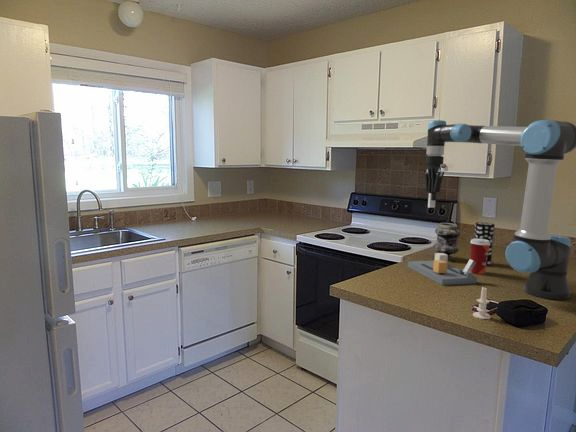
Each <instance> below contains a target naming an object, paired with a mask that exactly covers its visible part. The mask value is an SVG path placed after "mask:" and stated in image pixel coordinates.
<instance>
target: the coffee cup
mask: <svg viewBox="0 0 576 432" xmlns="http://www.w3.org/2000/svg"><path fill="white" fill-rule="evenodd" d="M469 243H470V257H469V260H470V259H471V260H473V261H475V262H476V264H475V265H474V267H473V269H472V270H471V273H472V274H474V275H485V273H486V269H487V266H486V263H487V257H488V250H489V245H490V243H489V240H485V239H474V238H471V240H470V242H469Z"/></svg>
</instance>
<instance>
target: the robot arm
mask: <svg viewBox="0 0 576 432" xmlns="http://www.w3.org/2000/svg"><path fill="white" fill-rule="evenodd" d="M427 126H428V127H427V140H426V153H425V154H426V155H427V156H425V164H426V165H428V166H427V169H426V170H424V171H423V173H424V174H423V175H424V178H425V179H424V180H425V181H424V183H425V184H424V185H425V192H427V193H428V197H427V198H428V199H427V208H429V209H430V208H433V209H434V208H436V199H437V194H438V193H440V191H441V187H442V181H443V177H444V175H445V171H442V165H443V164H444V159H445V157H444V154H445V144H446V143H467V144H468V143H470V144H472V143H473V144H486V145H487V144H488V145H490V144H491V145H501V146H502V145H503V146H513V147H514V146H516V147H517V146H518V147H521V148H522V150H523V151H524V152H525V155H524V160H525V161H527V163H528V166H527V167H528V169H527V176H526V181H525V182H526V183H525V190H524V198H523V205H522V211H521V219H520V226H519V229H518V230H517V231H515V232H514V235H513V241H511V243H509V244H508V245H507V247H506V249H505V252H504V253H505V254H504V255H505V258H506V259H505V260H506V261H507V263H508V264H509V265H510V267H511V268H512V269H513V270H514V271H517V272H519V273H524V274H528V273H529V276H528V278H527V281H526V282H525V283H524V288H523V289H524V292H526V293H527V294H529V295H532V296H535V297H538V298H543V299H547V300H548V299H549V300H558V301H561V300H569V299H570V298H571V293H572V292H571V291H572V290H571V289H570V287H569V286H570V285H569V281H568V271H569V270H568V269H569V262H570V256H571V255H570V253H571V249H572V246H571V244H572V242H571V239H570V238H569V237H566V236H563V235H556V234H551V233H548V230H549V229H548V228H549V221H550V215H551V209H552V203H553V196H554V195H553V194H554V189H555V183H556V176H557V168H558V166H559V164H561V163H562V162H563V161H564V158H565V155H567V154H569V153H571V152H573V151H574V150H576V125H575V124H574V123H572V122H569V121H561V120H554V119H540V120H535V121H533V122H531V123H530V124H528V126H512V125H511V126H508V125H507V126H504V125H502V126H501V125H472V124H471V125H469V124H467V123H455V124H454V123H453V124H452V123H451V124H447V122H446V120H431V121H429V122H428V125H427Z"/></svg>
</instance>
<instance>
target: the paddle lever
mask: <svg viewBox="0 0 576 432" xmlns="http://www.w3.org/2000/svg"><path fill="white" fill-rule="evenodd" d="M475 264H476V262H475V261H473V260H471V259H470V258H469V260H468V262H467V263H466V265H465V267H464V268H463V269H464V270H463V272H462V274H464V275H466V272H471V270H472V269H473V267H474V265H475Z"/></svg>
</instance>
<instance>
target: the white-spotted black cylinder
mask: <svg viewBox="0 0 576 432" xmlns="http://www.w3.org/2000/svg"><path fill="white" fill-rule="evenodd" d="M495 225H496V224H494V223H493V222H491V223H490V222H484V221H480V222H475V224H474V236H473V237H474V238H473V239H485V240H489V243H490V245H489V250H488V257H487V263H486V267H491V265H492V258H493V257H492V256H493V246H494V235H495Z"/></svg>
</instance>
